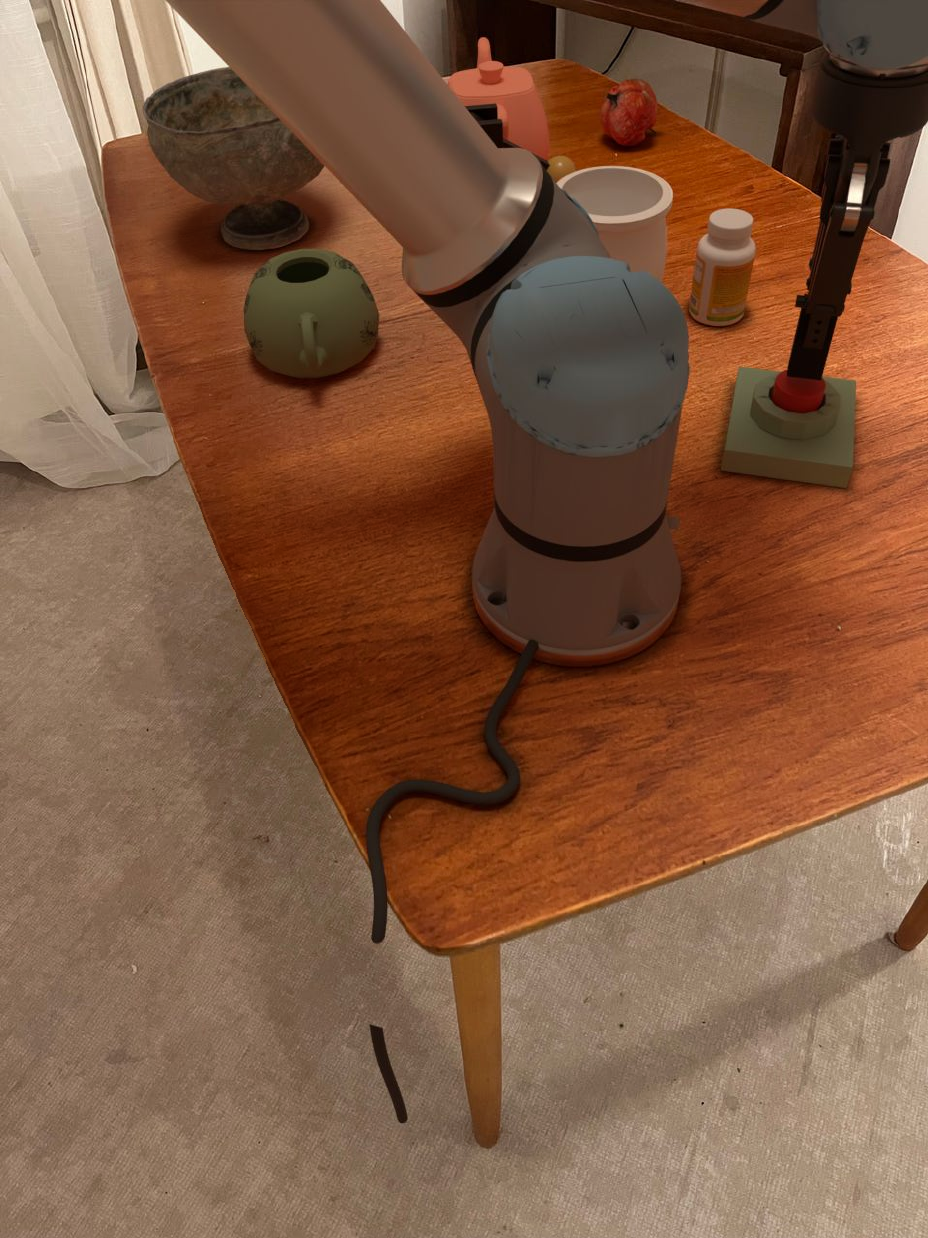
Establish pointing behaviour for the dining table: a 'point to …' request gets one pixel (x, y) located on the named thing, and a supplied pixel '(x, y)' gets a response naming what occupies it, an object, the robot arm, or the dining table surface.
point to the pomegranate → (629, 112)
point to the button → (797, 393)
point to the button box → (790, 432)
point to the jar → (626, 213)
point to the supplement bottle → (723, 268)
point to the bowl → (232, 155)
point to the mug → (310, 314)
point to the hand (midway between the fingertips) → (804, 372)
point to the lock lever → (554, 166)
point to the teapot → (505, 99)
